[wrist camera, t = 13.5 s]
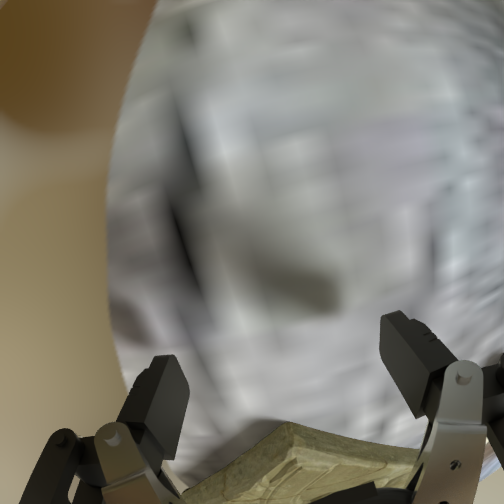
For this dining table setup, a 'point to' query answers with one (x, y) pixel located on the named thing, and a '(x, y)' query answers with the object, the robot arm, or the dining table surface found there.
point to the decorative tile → (303, 469)
